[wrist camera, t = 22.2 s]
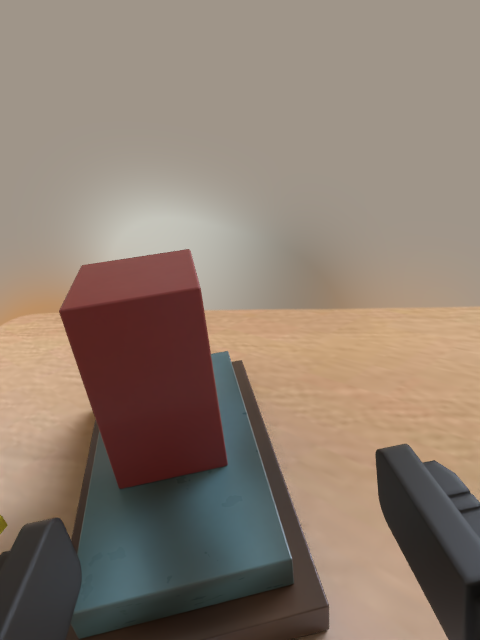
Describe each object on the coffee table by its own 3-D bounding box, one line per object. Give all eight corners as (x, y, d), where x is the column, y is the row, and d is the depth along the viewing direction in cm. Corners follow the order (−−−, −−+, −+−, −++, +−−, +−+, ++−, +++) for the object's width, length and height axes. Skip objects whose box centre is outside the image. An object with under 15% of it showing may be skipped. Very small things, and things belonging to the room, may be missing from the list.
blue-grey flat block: (243, 377, 30) (239, 340, 29) (329, 629, 15) (329, 579, 14) (107, 404, 29) (95, 366, 28) (57, 704, 14) (25, 658, 13)
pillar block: (214, 400, 23) (189, 248, 19) (228, 466, 19) (200, 287, 15) (125, 418, 23) (80, 264, 19) (118, 490, 18) (58, 310, 14)
